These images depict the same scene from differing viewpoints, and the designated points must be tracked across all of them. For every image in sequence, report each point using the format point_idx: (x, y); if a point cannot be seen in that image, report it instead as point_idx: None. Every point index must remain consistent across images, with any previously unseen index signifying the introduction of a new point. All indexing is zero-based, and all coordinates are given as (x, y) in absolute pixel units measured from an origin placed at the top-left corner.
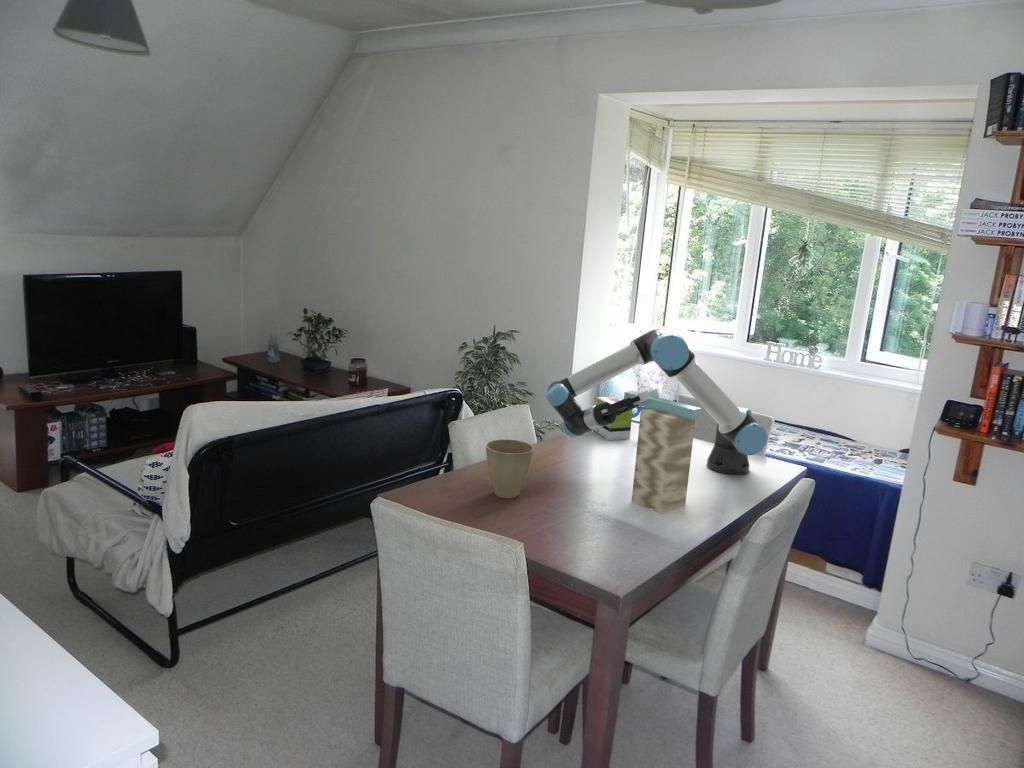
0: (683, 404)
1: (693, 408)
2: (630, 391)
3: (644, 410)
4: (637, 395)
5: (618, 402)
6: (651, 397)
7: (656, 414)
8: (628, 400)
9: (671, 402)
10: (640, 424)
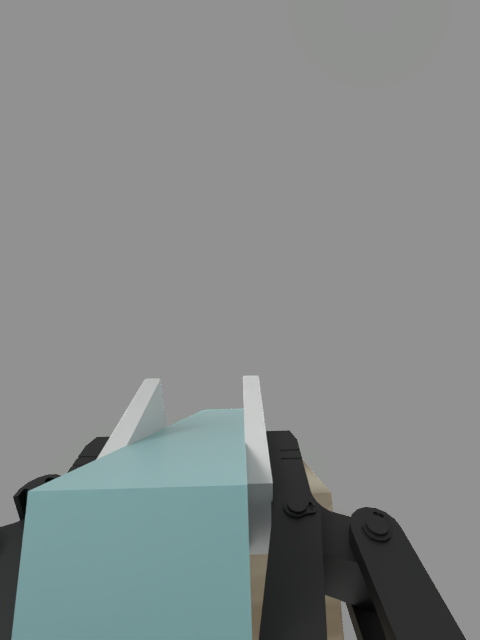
0: (205, 413)
1: (228, 409)
2: (119, 481)
3: (316, 486)
4: (265, 432)
5: (448, 625)
6: (206, 428)
7: (306, 465)
8: (323, 515)
9: (216, 416)
10: (337, 600)
